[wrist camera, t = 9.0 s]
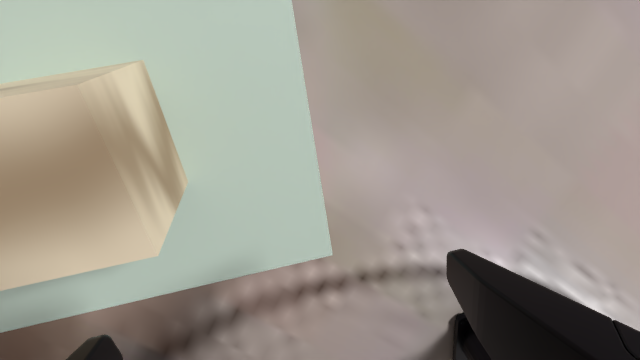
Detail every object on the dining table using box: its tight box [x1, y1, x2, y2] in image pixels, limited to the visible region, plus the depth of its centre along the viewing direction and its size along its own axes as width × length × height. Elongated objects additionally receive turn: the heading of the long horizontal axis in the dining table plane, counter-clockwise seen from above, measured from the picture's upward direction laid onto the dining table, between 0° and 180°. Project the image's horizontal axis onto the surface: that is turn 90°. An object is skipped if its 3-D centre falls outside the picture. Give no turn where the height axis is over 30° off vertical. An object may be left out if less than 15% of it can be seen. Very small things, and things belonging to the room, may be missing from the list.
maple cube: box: [0, 60, 188, 291], centre depth 12 cm, size 6×6×6 cm
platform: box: [0, 0, 333, 333], centre depth 15 cm, size 18×18×3 cm
